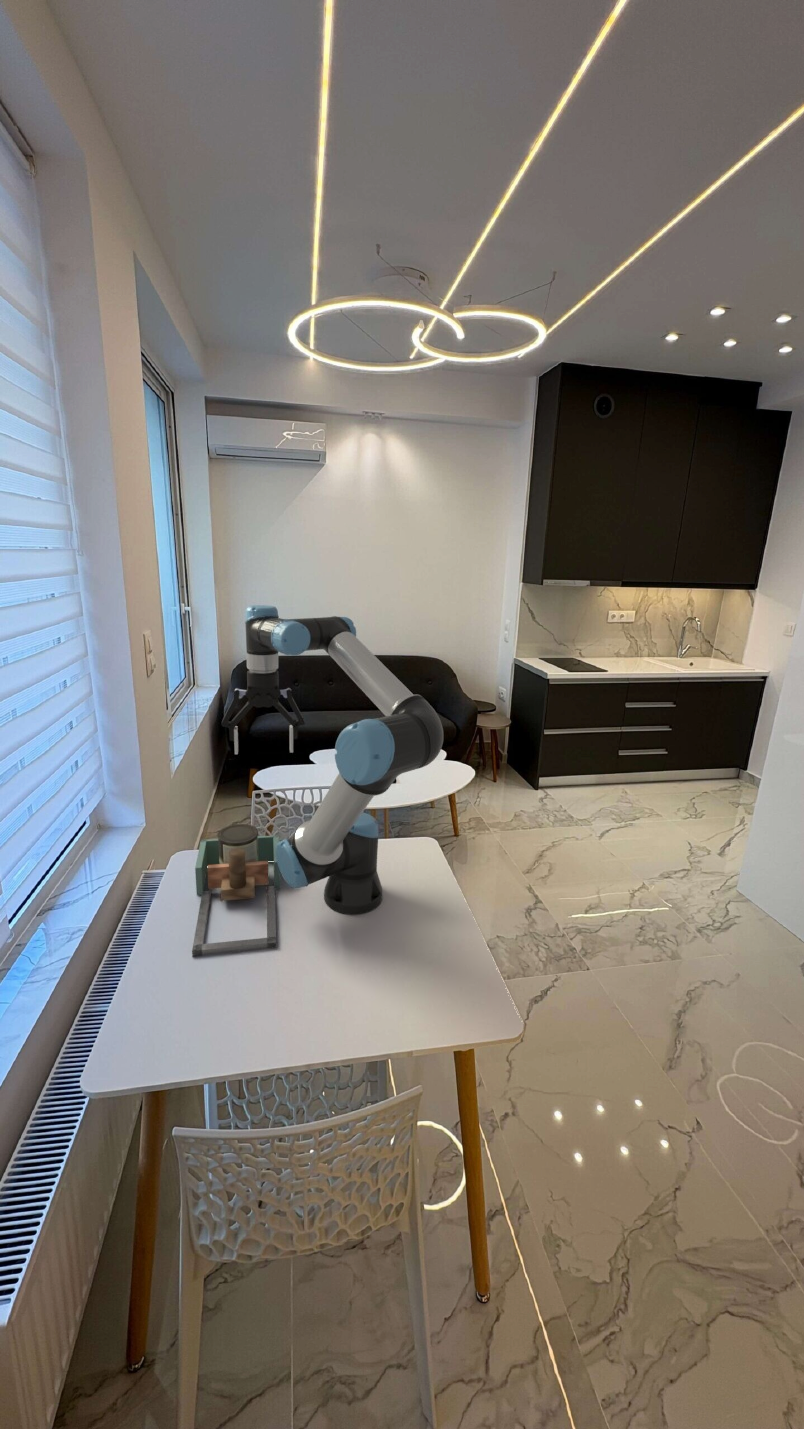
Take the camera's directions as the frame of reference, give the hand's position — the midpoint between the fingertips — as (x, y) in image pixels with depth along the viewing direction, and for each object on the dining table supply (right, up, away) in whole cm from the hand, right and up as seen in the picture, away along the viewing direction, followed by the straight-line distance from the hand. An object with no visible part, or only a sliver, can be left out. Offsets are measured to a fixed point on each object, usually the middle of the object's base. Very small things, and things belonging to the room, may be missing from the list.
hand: (264, 751), depth 149 cm
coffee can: (-9, -35, +9) cm, 38 cm away
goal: (-9, -35, +10) cm, 37 cm away
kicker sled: (-7, -36, +1) cm, 36 cm away
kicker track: (-5, -40, -8) cm, 41 cm away
